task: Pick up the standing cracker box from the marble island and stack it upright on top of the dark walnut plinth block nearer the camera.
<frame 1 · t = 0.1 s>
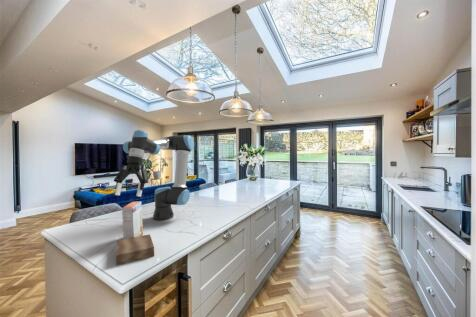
hand: (127, 195, 111), 28 cm above the counter, tool tilted 20°, fingers open, 13 cm apart
cracker box: (133, 239, 122), on the counter
walnut plinth block: (135, 253, 106), on the counter
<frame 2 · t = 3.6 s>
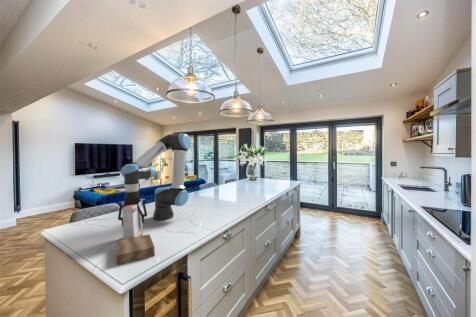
hand: (133, 229, 121), 6 cm above the counter, tool pointing down, fingers closed on cracker box, 8 cm apart
cracker box: (133, 239, 122), on the counter, touching gripper
everything else where it was.
when the fingers open (12 cm above the counter, at t = 11.7 s): cracker box drops 2 cm, resting on walnut plinth block.
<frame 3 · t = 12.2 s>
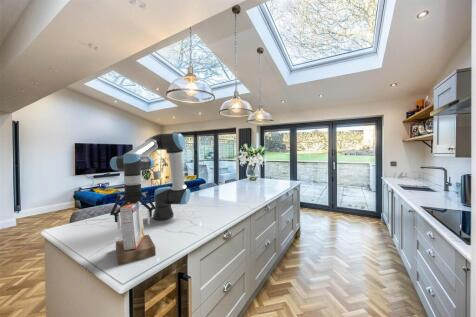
hand: (134, 225, 105), 14 cm above the counter, tool pointing down, fingers open, 13 cm apart
cracker box: (134, 244, 106), point 4 cm above the counter, touching walnut plinth block
walnut plinth block: (135, 253, 106), on the counter, touching cracker box
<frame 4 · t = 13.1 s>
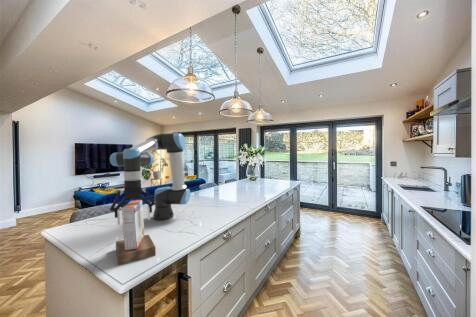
hand: (134, 221, 105), 16 cm above the counter, tool pointing down, fingers open, 13 cm apart
cracker box: (135, 244, 106), point 4 cm above the counter
walnut plinth block: (135, 253, 106), on the counter
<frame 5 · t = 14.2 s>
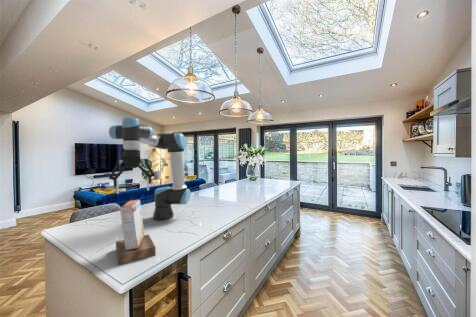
hand: (133, 191, 105), 31 cm above the counter, tool pointing down, fingers open, 13 cm apart
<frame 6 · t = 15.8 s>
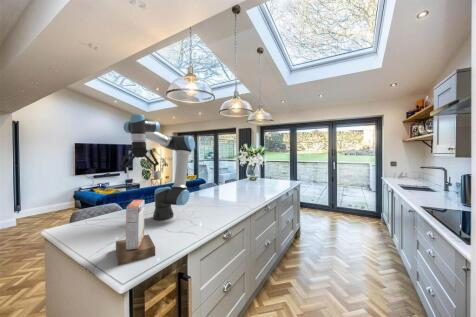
hand: (140, 177, 122), 36 cm above the counter, tool pointing down, fingers open, 13 cm apart
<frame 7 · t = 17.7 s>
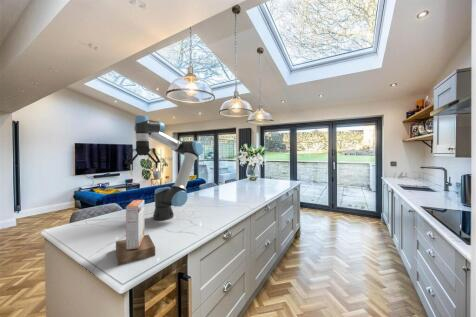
hand: (143, 174, 131), 37 cm above the counter, tool pointing down, fingers open, 13 cm apart
cracker box: (135, 244, 106), point 4 cm above the counter, touching walnut plinth block
walnut plinth block: (135, 253, 106), on the counter, touching cracker box
at the end: cracker box inside the target area on the walnut plinth block (0.4 cm from its centre), point 5.0 cm above the walnut plinth block's base; cracker box tilted 2°; the gripper is holding nothing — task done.
